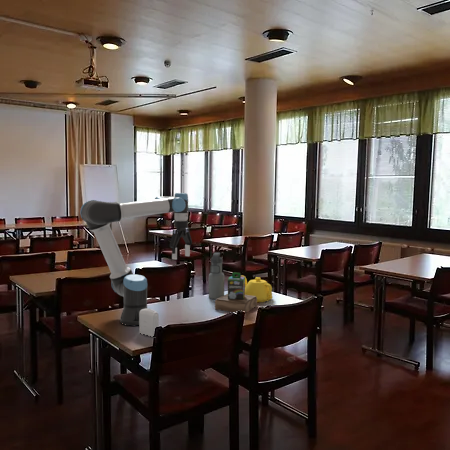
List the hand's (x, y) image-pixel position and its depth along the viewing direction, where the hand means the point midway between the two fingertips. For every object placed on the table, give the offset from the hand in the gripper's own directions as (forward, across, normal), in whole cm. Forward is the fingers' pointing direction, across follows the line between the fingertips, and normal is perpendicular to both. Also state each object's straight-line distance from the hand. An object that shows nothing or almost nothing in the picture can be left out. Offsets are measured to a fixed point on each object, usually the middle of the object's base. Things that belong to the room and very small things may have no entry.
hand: (181, 257), depth 260 cm
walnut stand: (+29, +15, -28) cm, 43 cm away
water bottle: (+29, +30, -7) cm, 42 cm away
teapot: (+29, +40, -30) cm, 58 cm away
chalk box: (+23, +15, -28) cm, 39 cm away
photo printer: (+29, -48, -13) cm, 58 cm away
